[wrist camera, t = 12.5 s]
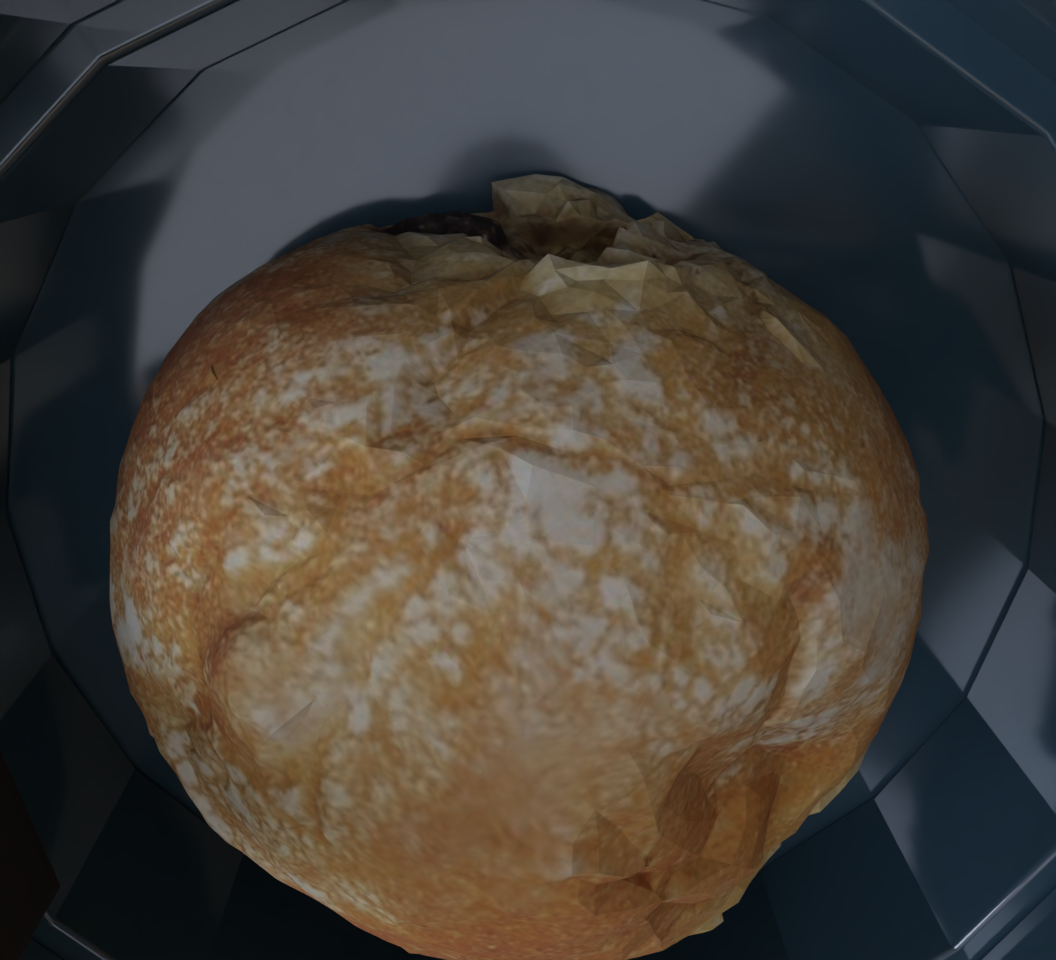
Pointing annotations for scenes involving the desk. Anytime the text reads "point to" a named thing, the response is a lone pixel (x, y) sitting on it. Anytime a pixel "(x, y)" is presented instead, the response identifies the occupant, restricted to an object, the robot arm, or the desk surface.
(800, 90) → the dark blue bowl
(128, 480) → the bread roll
